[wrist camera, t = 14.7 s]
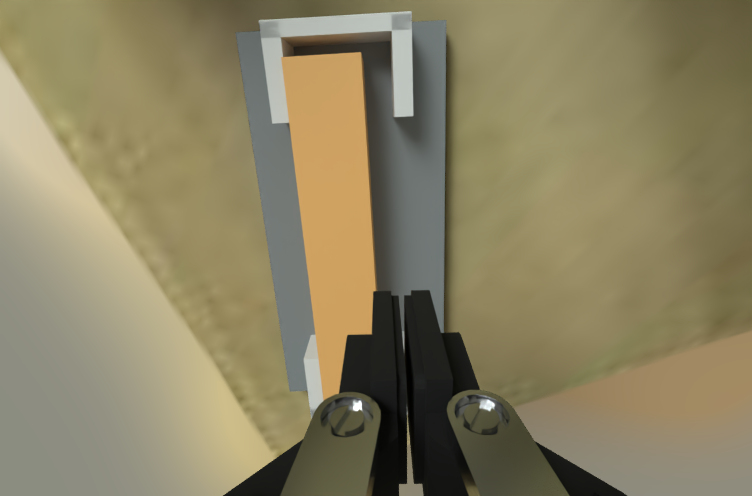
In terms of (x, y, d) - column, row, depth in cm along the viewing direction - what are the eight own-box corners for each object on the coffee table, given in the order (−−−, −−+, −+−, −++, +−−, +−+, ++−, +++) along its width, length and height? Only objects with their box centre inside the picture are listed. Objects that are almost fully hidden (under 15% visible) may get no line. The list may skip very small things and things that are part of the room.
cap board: (244, 37, 23) (214, 20, 19) (442, 25, 23) (456, 6, 19) (293, 378, 32) (280, 420, 27) (440, 373, 31) (449, 414, 27)
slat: (295, 65, 23) (280, 57, 19) (363, 60, 22) (360, 51, 19) (330, 377, 30) (324, 410, 27) (382, 375, 30) (383, 408, 26)
